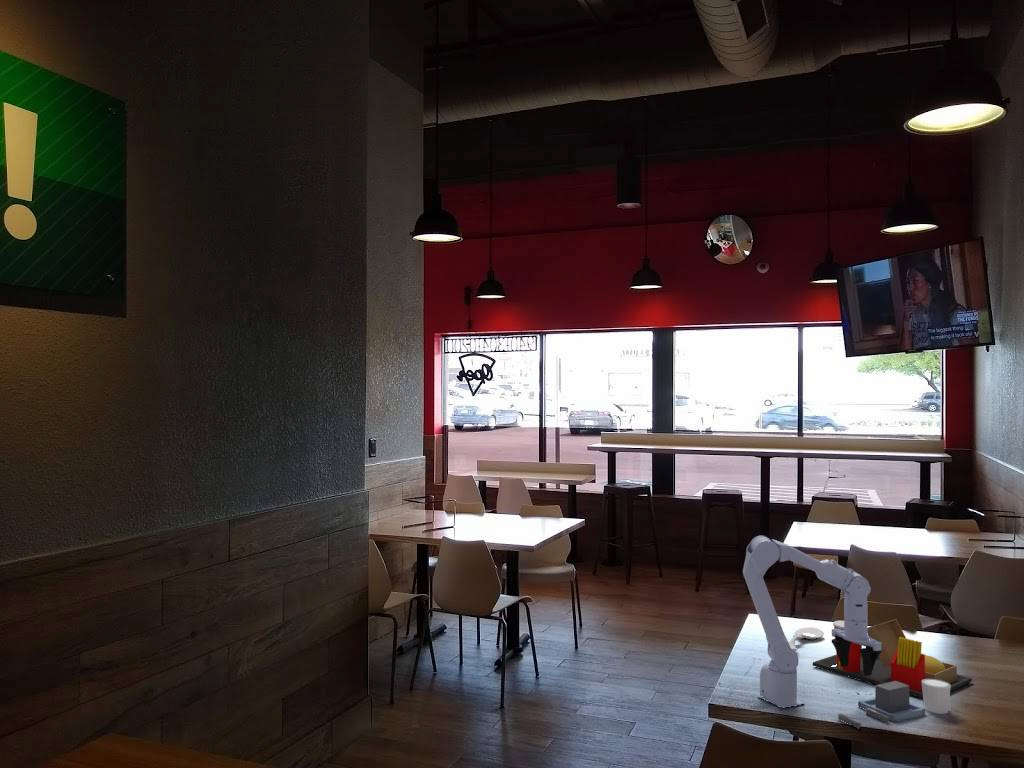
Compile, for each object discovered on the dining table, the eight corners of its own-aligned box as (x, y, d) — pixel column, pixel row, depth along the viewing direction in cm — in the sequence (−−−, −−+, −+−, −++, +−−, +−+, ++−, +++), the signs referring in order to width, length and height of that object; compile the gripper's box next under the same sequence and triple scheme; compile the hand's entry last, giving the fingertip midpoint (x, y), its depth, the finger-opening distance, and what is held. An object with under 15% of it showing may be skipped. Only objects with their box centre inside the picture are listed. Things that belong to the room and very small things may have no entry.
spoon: (767, 653, 253) (767, 642, 253) (801, 632, 278) (801, 622, 278) (795, 659, 248) (795, 648, 248) (827, 637, 272) (827, 627, 272)
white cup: (941, 704, 210) (941, 678, 210) (956, 714, 203) (956, 687, 203) (916, 704, 209) (916, 678, 210) (930, 714, 202) (930, 687, 203)
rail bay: (838, 720, 198) (838, 714, 198) (868, 713, 202) (868, 707, 203) (857, 729, 192) (857, 722, 193) (888, 722, 197) (888, 716, 197)
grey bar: (875, 708, 205) (875, 685, 205) (895, 703, 208) (895, 680, 209) (889, 713, 201) (888, 690, 201) (909, 708, 205) (909, 685, 205)
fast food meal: (930, 703, 211) (930, 634, 212) (812, 668, 239) (812, 607, 240) (971, 684, 226) (971, 620, 227) (856, 654, 254) (856, 596, 255)
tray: (858, 707, 207) (858, 701, 207) (889, 700, 212) (889, 695, 212) (893, 722, 197) (893, 716, 197) (925, 714, 202) (925, 709, 202)
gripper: (889, 624, 203) (889, 677, 203) (844, 611, 217) (844, 660, 216) (870, 627, 200) (870, 680, 200) (826, 613, 214) (826, 663, 213)
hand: (855, 670), depth 208 cm, fingers open, 7 cm apart
